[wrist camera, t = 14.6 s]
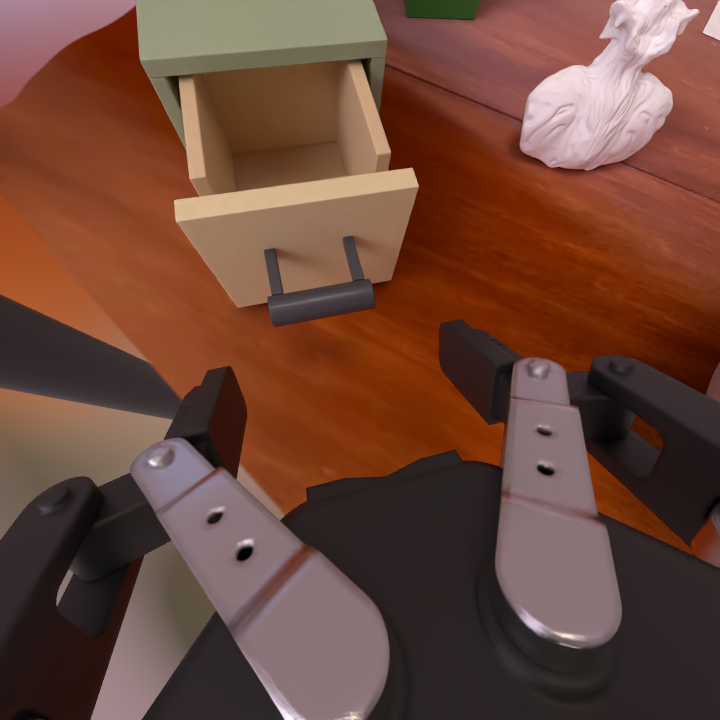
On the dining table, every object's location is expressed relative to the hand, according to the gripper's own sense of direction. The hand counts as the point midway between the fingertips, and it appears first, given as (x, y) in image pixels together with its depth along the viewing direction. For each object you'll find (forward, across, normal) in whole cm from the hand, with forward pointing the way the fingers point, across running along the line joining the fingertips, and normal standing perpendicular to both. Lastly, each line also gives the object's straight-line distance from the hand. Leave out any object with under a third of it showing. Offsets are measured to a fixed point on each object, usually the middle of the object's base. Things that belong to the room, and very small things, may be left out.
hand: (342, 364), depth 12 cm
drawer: (+15, 0, -2) cm, 16 cm away
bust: (+21, -26, -6) cm, 34 cm away
